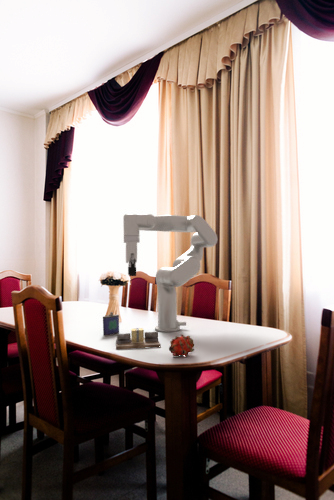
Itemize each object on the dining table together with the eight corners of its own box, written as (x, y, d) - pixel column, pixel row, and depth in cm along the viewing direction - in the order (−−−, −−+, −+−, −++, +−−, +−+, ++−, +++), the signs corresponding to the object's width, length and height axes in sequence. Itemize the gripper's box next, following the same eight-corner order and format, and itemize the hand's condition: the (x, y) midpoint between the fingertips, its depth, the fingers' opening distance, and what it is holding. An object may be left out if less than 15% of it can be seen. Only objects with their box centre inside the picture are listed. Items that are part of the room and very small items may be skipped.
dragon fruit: (195, 357, 145) (172, 368, 137) (181, 341, 149) (158, 351, 141) (203, 342, 140) (180, 352, 132) (188, 326, 145) (165, 336, 137)
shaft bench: (156, 339, 168) (156, 328, 168) (160, 347, 154) (160, 335, 154) (115, 341, 166) (115, 330, 166) (116, 349, 152) (116, 336, 152)
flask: (116, 332, 186) (116, 310, 186) (120, 333, 184) (120, 311, 184) (101, 335, 179) (101, 312, 179) (105, 336, 177) (105, 313, 177)
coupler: (131, 342, 158) (131, 330, 158) (131, 340, 162) (131, 328, 162) (143, 342, 158) (143, 329, 159) (143, 339, 163) (142, 328, 163)
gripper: (123, 240, 188) (123, 274, 188) (124, 238, 171) (124, 276, 171) (138, 240, 189) (138, 274, 189) (140, 238, 172) (141, 276, 172)
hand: (132, 275), depth 180 cm, fingers open, 9 cm apart
